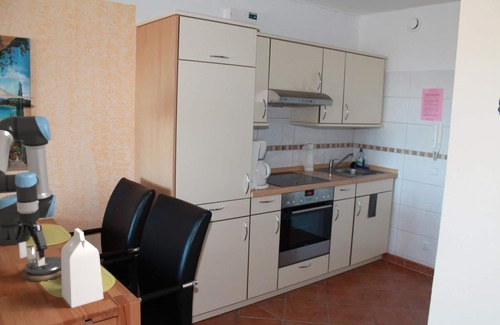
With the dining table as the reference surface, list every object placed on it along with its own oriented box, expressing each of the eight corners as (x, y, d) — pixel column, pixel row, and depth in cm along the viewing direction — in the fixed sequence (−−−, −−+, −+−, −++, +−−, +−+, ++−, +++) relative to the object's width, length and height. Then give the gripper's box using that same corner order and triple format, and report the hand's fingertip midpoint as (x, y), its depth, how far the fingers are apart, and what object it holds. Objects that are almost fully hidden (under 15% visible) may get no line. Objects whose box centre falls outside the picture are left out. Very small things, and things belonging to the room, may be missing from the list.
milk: (103, 298, 159) (100, 231, 155) (71, 308, 152) (67, 238, 148) (92, 287, 168) (89, 223, 164) (61, 295, 161) (57, 229, 157)
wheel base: (55, 262, 192) (55, 257, 192) (75, 272, 182) (75, 268, 181) (16, 274, 179) (15, 269, 179) (34, 286, 169) (34, 281, 168)
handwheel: (53, 258, 190) (51, 234, 189) (72, 266, 182) (70, 242, 180) (18, 269, 178) (16, 244, 177) (37, 278, 170) (35, 252, 168)
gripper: (54, 214, 167) (58, 265, 171) (21, 204, 181) (24, 251, 185) (36, 218, 161) (40, 271, 165) (2, 208, 175) (7, 257, 179)
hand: (32, 261), depth 175 cm, fingers open, 13 cm apart
